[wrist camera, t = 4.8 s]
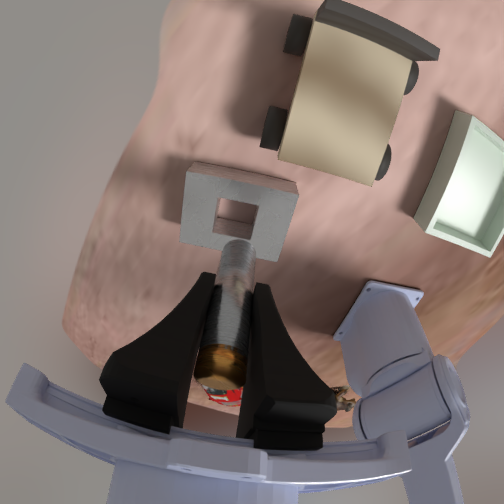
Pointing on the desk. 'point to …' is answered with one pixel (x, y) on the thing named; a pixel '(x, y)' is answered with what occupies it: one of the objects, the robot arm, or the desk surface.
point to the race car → (225, 396)
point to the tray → (466, 188)
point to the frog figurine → (344, 400)
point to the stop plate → (244, 190)
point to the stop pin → (228, 320)
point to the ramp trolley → (345, 91)
